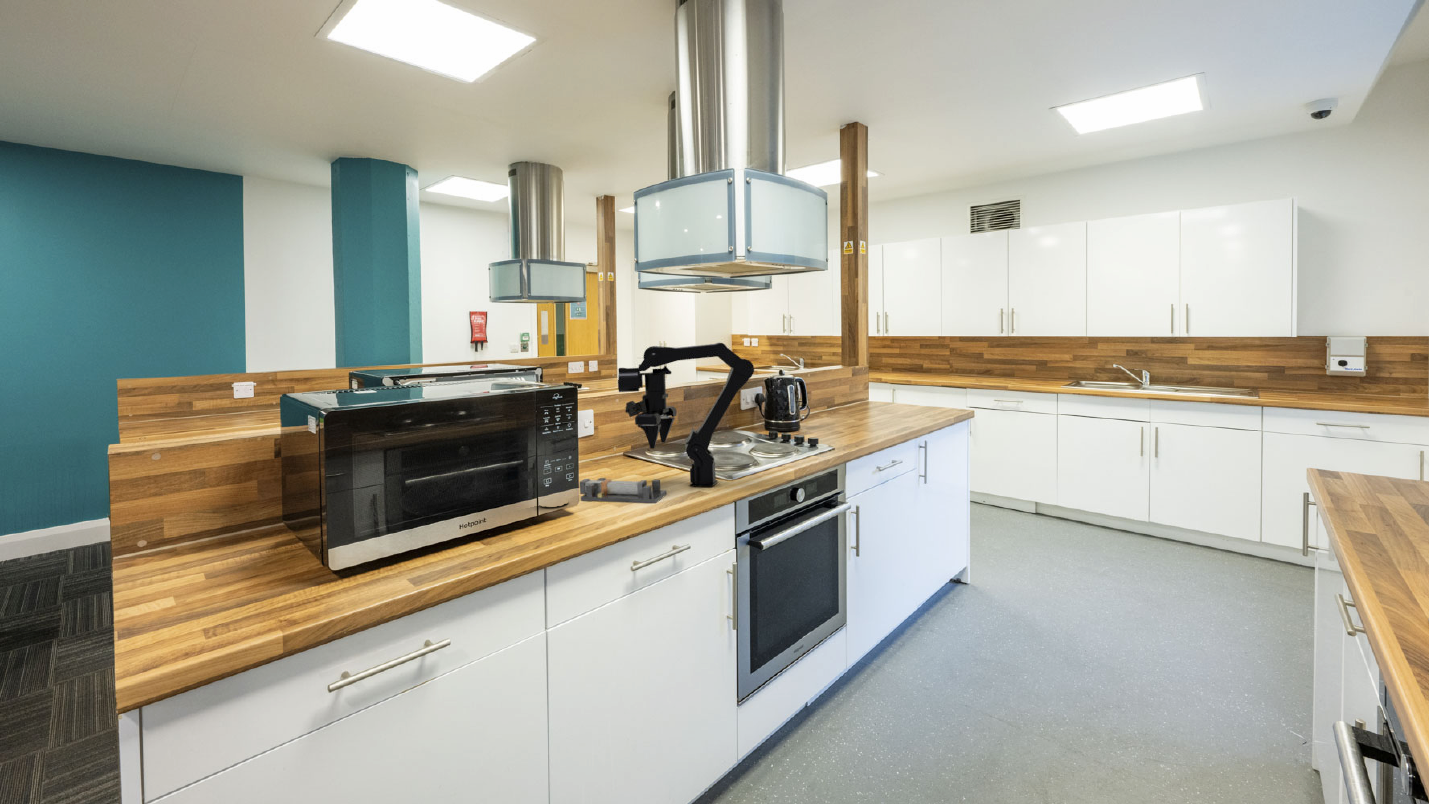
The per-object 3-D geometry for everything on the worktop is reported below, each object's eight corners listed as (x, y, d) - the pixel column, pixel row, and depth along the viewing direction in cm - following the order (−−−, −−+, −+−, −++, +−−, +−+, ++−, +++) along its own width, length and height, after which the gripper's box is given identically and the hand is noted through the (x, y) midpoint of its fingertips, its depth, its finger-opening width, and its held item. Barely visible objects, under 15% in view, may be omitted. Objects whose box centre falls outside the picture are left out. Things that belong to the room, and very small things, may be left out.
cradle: (666, 494, 163) (665, 479, 163) (655, 503, 154) (654, 488, 154) (595, 491, 168) (594, 477, 168) (581, 500, 159) (580, 485, 159)
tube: (647, 492, 161) (646, 480, 161) (642, 496, 158) (642, 483, 158) (585, 490, 166) (585, 478, 165) (580, 494, 162) (579, 481, 162)
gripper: (640, 388, 179) (643, 439, 181) (615, 394, 161) (618, 451, 163) (676, 387, 177) (678, 439, 178) (654, 394, 159) (657, 452, 160)
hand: (658, 445), depth 170 cm, fingers open, 9 cm apart
